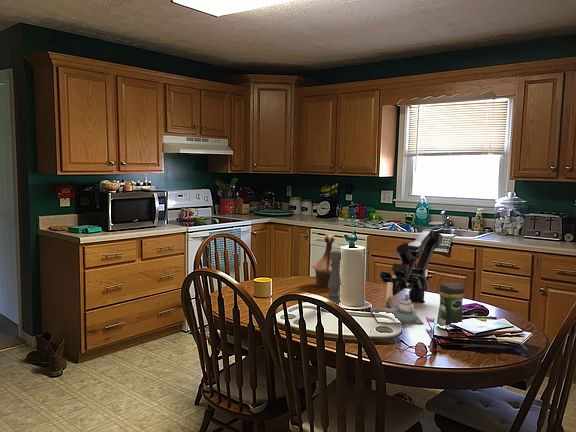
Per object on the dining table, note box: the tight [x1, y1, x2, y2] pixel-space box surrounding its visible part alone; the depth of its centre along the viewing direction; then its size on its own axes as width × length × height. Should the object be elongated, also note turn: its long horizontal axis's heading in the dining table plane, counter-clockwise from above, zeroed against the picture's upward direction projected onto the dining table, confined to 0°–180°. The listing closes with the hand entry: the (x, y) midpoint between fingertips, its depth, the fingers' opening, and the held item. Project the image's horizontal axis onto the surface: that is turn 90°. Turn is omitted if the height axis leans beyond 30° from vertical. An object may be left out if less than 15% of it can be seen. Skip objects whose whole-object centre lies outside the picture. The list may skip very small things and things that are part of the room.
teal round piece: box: [394, 308, 417, 322], centre depth 208 cm, size 9×9×4 cm
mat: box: [369, 307, 424, 325], centre depth 214 cm, size 19×19×1 cm
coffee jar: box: [436, 282, 465, 326], centre depth 200 cm, size 10×8×19 cm
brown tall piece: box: [310, 233, 336, 289], centre depth 261 cm, size 18×17×28 cm
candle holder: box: [326, 249, 342, 305], centre depth 227 cm, size 6×6×25 cm
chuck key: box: [385, 282, 415, 314], centre depth 211 cm, size 14×6×11 cm, turn 33°
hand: (393, 295), depth 219 cm, fingers closed
